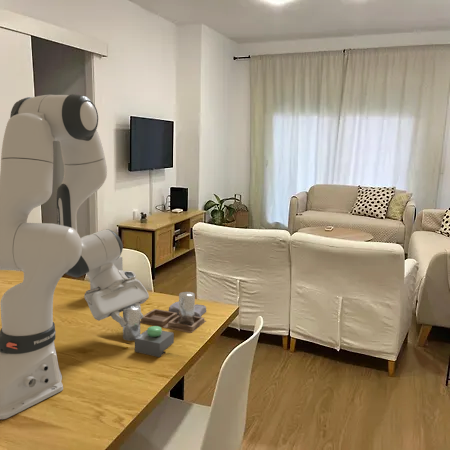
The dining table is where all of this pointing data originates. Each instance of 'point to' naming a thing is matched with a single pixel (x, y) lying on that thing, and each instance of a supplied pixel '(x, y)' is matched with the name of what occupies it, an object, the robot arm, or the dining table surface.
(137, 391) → the dining table surface
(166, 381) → the dining table surface
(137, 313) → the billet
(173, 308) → the stone block
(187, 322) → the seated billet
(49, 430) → the dining table surface
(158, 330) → the button
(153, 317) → the brown wooden tray
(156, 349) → the console
